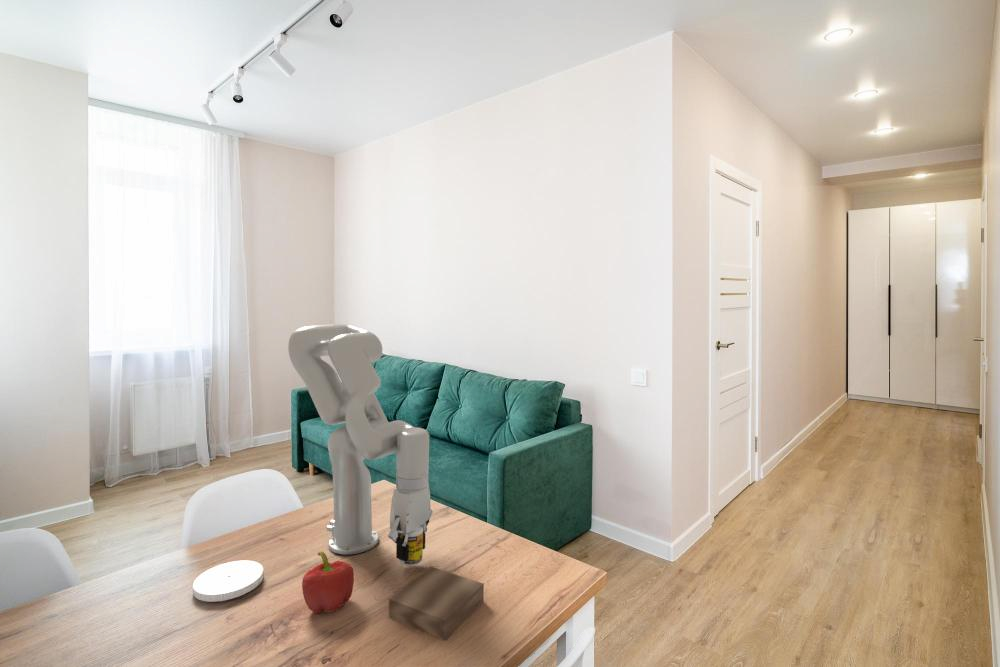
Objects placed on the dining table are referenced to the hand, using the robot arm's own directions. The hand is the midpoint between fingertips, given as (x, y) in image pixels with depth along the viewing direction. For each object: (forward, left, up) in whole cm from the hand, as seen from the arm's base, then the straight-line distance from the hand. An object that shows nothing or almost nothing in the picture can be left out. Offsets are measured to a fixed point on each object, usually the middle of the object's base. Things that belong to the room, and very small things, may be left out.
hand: (410, 552), depth 122 cm
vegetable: (-6, -20, -4) cm, 21 cm away
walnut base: (+15, -10, -4) cm, 19 cm away
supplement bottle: (0, 0, -2) cm, 2 cm away
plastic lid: (-31, -26, -4) cm, 41 cm away
